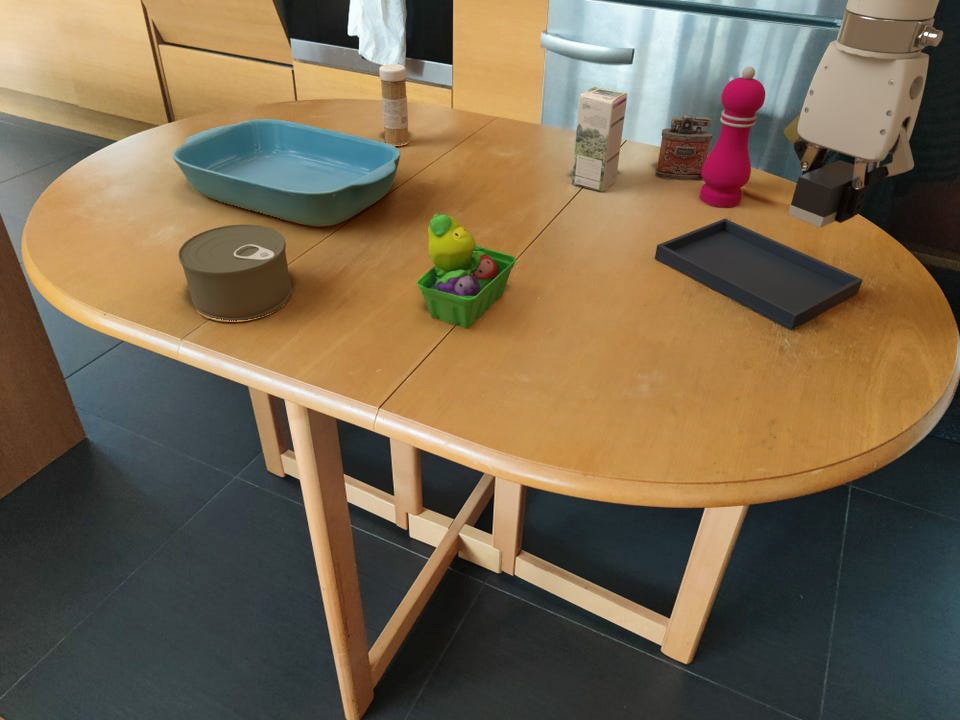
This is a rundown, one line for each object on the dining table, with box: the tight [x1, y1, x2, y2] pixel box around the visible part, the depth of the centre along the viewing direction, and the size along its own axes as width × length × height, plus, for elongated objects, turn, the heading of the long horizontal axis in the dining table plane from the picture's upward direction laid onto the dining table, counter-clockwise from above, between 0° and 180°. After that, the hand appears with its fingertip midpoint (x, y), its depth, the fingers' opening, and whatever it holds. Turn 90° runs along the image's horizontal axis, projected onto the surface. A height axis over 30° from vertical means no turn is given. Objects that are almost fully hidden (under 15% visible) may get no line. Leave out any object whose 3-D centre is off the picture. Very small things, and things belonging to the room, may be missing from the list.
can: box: [177, 224, 292, 321], centre depth 85 cm, size 12×12×7 cm
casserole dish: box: [171, 118, 401, 228], centre depth 110 cm, size 37×22×7 cm, turn 61°
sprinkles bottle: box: [378, 63, 410, 145], centre depth 127 cm, size 5×5×13 cm
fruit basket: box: [416, 213, 517, 330], centre depth 83 cm, size 11×9×11 cm
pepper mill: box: [699, 66, 766, 208], centre depth 107 cm, size 7×7×20 cm
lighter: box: [654, 114, 714, 182], centre depth 117 cm, size 8×3×10 cm, turn 82°
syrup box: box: [571, 86, 628, 193], centre depth 113 cm, size 6×6×14 cm
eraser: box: [787, 159, 855, 229], centre depth 78 cm, size 4×8×4 cm, turn 127°
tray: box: [654, 218, 864, 331], centre depth 93 cm, size 21×14×2 cm
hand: (825, 209), depth 79 cm, fingers closed on eraser, 4 cm apart
